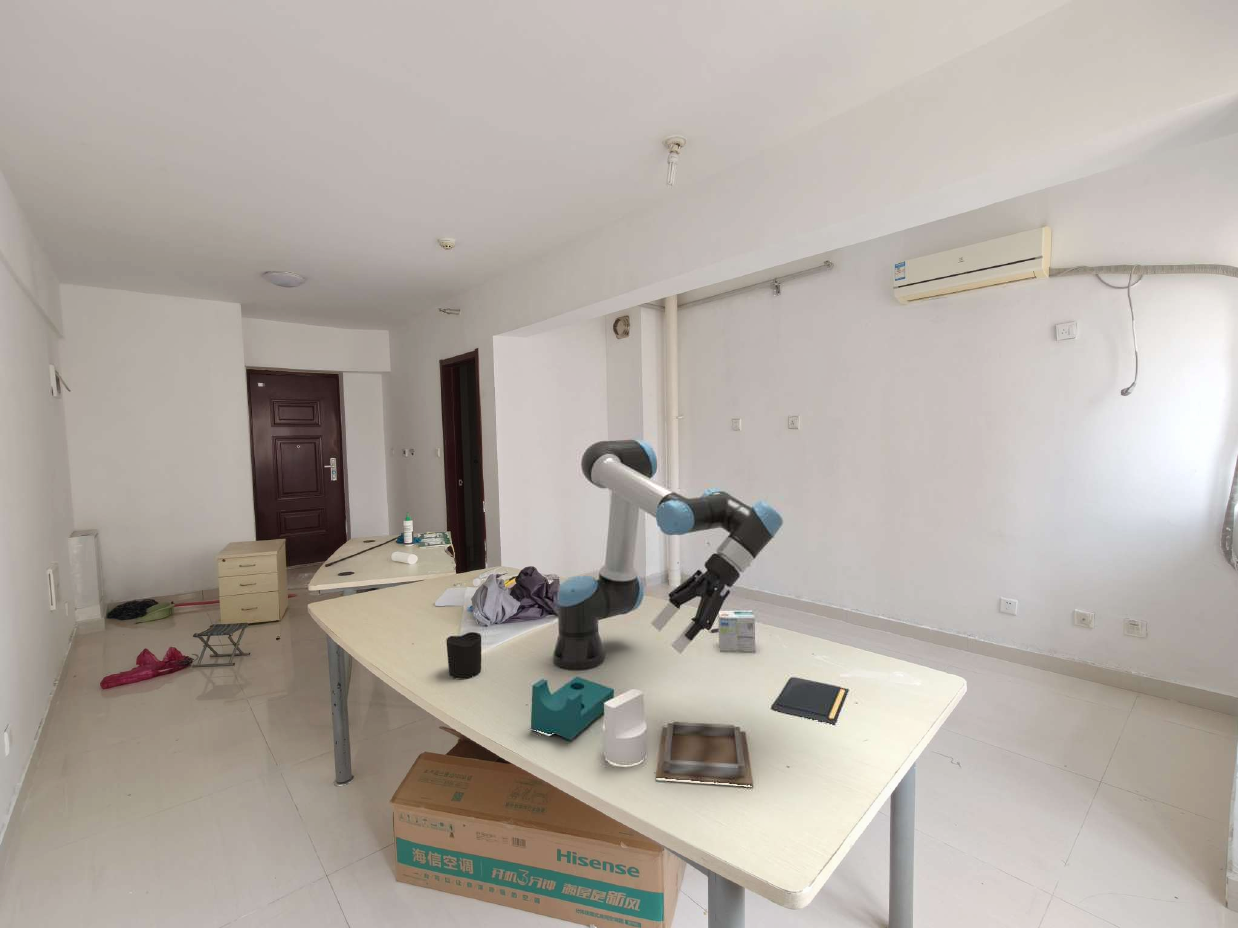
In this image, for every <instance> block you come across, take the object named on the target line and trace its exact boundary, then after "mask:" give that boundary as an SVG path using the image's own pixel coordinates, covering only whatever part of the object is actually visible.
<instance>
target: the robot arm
mask: <svg viewBox="0 0 1238 928" xmlns="http://www.w3.org/2000/svg"><path fill="white" fill-rule="evenodd" d="M656 455H657V454H656V452H655V450H654V448H653V447H652V446H651V444H649V442H647V441H645V440H641V439H640V440H639V439H621V440H602V441H597V442H595V443H592V444H591V445H590V446H588V448H587V449H585V451H584V453H583V455H582V458H581V461H580V462H581V463H580V464H581V465H580V466H581V471H582V473H583V476H584V477H585V479H587V481H588V482H589V483H590V484H592V485H594V486H595V487H597V488H600V489H608V490H609V491H611V493H610V494H611V495H610V505H609V506H610V507H609V515H608V516H609V517H608V530H607V541H606V550H605V561H604V564H603V566H602V567H600V568H599V570H598V571H599V572H598V579H597V578H595V576H590V575H589V576H588V575H583V576H574V577H571V578H569V579H566V580H564V581H563V582H562V583H560V585H559V586H558V588H557V598H556V603H557V617H558V618H557V619H558V620H557V621H558V622H557V623H558V636H557V640H556V642H555V646H554V650H553V657H552V658H553V664H555V665H556V666H557V667H559V668H560V669H561V668H562V669H565V670H573V671H574V670H575V671H579V670H580V671H581V670H582V671H583V670H587V669H591V668H592V669H593V668H595V667H596V668H597V667H598V666H600V665H601V664H603V663H604V662H605V660H606V650H605V647H604V643H603V641H602V638H601V636H600V633H599V632H600V631H599V621H602V620H604V619H605V620H606V619H608V618H611V617H615V616H620V615H626V614H629V613H631V612H633V611H636V610H637V609H638V608H639V607H640V606H641V604H642V601H643V599H644V593H645V592H644V585H643V586H642V584H643V582H642V579H641V577H640V576H639V575H638V572H637V570H635V568H634V563H635V553H636V543H637V534H638V524H639V523H638V522H639V514H640V510H642V511H644V512H645V513H647V514H648V515H650V516H652V517H653V518H654V519H655V520H656V524H657V527H659V529H660V531H661V532H662V533H663V534H665V535H667V536H675V535H676V536H682V535H685V534H691V533H697V532H701V531H708V530H713V529H720V528H721V529H723V530H724V531H726V532H727V533H729V534H728V536H727V537H725V539H724V540H722V542H721V543H720V544H719V546H718V547H717V548H715V549H716V550H715V551H716V553H712V554H710V555H711V556H710V557H709V558H708V559H707V560H706V562H704V568H705V569H706V571H705V572H703V571H702V570H701V569H697V570H696V571H695V572H694V573H693V574H692V576H690V577H688V579H686V580H685V581H683V583H681V584H680V585H678V586H677V587H676V588H675V589H673V590H672V591H671V592H669V593H668V595H667V596H668V598H669V599H668V602H667V603H666V604H665V606H664V607H663V608H662V609H661V610H660V612H659V613H658V614H657V615H656V616H655V617H654V619H652V621H651V622H650V625H652V627H654V628H655V629H656V630H658V632H661V631H662V630H663V628H664V627H665V626H666V625H667V624H668V622H670V620H671V619H672V618H673V617H674V616H675V614H677V612H678V611H679V610H680V609H681V607H682V605H684V604H686V603H687V602H690V601H692V600H693V599H695V598H697V597H699V598H700V600H699V604H698V606H697V607H698V608H697V611H696V612H695V613H696V614H695V616H694V617H691V618H690V620H689V622H688V623H687V624H686V626H684V627H683V629H682V630H681V631H680V632H679V633H678V635H677V636H676V637H675V638H674V639H673V641H672V642H671V643H670V644H669V645H670V646H671V648H673V649H674V650H675V651H676V652H677V653H679V654H680V655H681V654H682V653H684V651H685V649H687V647H688V646H689V645H690V643H691V642H692V641H693V640H694V639H695V638H696V636H697V635H698V634H699V633H700V632H701V630H702V631H703V630H705V629H706V631H710V630H711V629H712V627H713V625H714V624H715V621H716V620H717V618H718V613H719V611H721V608H722V606H723V604H724V602H725V600H726V599H727V598H728V596H729V595H730V593H731V590H730V589H728V588H732V587H733V585H734V584H735V583H736V582H737V581H738V579H739V578H740V577H741V573H744V572H745V571H746V570H747V568H749V567H750V566H751V564H752V563H753V561H754V560H755V559H756V558H757V556H758V555H759V554H760V553H761V551H763V550H764V548H765V547H766V546H767V544H768V543H770V541H771V540H772V539H774V537H775V535H777V533H778V531H779V530H780V529H781V528H782V526H783V523H784V521H783V520H784V519H783V518H782V516H781V515H780V513H778V511H777V510H776V509H774V508H773V507H772V506H771V505H769V504H767V503H766V502H762V501H758V502H756V503H755V504H754V505H752V506H749V505H747V504H746V503H743V502H742V501H740V500H739V499H737V497H736V498H735V497H734V496H732V495H731V494H730V493H728V492H726V491H725V490H724V491H723V490H721V489H719V488H717V487H713V488H712V487H711V488H709V489H708V490H707V491H704V492H703V493H702V494H701V496H700V497H692V498H691V497H690V498H688V497H685V496H683V495H682V494H679V493H677V492H675V491H674V490H672V489H670V488H668V487H666V486H664V485H662V484H661V483H658V482H657V481H655V480H653V479H652V478H653V477H654V475H656V473H657V469H658V458H657V456H656Z"/></svg>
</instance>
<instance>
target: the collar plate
mask: <svg viewBox="0 0 1238 928" xmlns="http://www.w3.org/2000/svg"><path fill="white" fill-rule="evenodd" d="M658 751H659V752H658V758H657V765H656V773H655V779H656V778H665V779H676V780H691V781H700V782H714V783H716V782H717V783H729V784H737V785H747V786H748V785H750V786H753V787H754V782H753V776H752V775H753V774H752V768H751V761H750V754H749V746H748V740H747V733H746V731H741V726H735V725H734V724H724V723H723V724H720V723H719V724H717V723H703V722H702V723H701V722H688V721H687V722H686V721H685V722H684V721H673V722H667V725H666V726H662V729H661V736H660V744H659V750H658Z"/></svg>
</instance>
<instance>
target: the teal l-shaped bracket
mask: <svg viewBox="0 0 1238 928" xmlns="http://www.w3.org/2000/svg"><path fill="white" fill-rule="evenodd" d="M548 682H549V681H548V680H547V679H544V678H541V679H540V680H538V681H537V682H535V683H534V684H533V685H532V687H531V688H532V690H531V711H530V712H531V715H530V730H531V729H533V730H536V731H537V730H538V731H541V732H544V733H547V734H552V733H555V734H556V735H558V736H560V737H563V738H565V739H567V740H570V741H571V740H573V739H574V738H575V737H576V736H577V735H579V733H581V732H582V731H583V730H585V728H586V727H588V726H589V725H591V723H592V722H593V721H595V720H596V719H597V718H599V717H600V716H601V715H602V714H604V703H605V702H607V701H609V700H611V699H613V698H615V696H614V695H615V688H612V687H610V686H605V685H603V684H600V683H596V682H594V681H591V680H588V679H585V678H583V677H579V676H575V677H574V678H573V679H572V680H570V681H568V682H567V683H566V684H564V685H563V686H561V687H560V688H558V689H557V690H556V691H554V692H553V693H551V691H550V688H549V685H548V684H549V683H548ZM533 730H532V731H533ZM555 734H554V735H555Z"/></svg>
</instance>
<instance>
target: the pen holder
mask: <svg viewBox="0 0 1238 928" xmlns="http://www.w3.org/2000/svg"><path fill="white" fill-rule="evenodd" d="M445 641H446V642H445V643H446V653H447V664H448V674H449V676H450V677H451V676H452V677H454V678H453V679H455V678H467V679H470V678H469V677H471V678H473V677H472V676H474V677H476V676H478V675H479V674H480V673H481V671H482V634H481V633H478V632H474V631H471V632H469V631H468V632H466V633H464V634H462V635H450V636H448V637H447V638H446V640H445ZM478 673H479V674H478ZM477 674H478V675H477ZM475 675H476V676H475ZM452 677H451V678H452Z"/></svg>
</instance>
